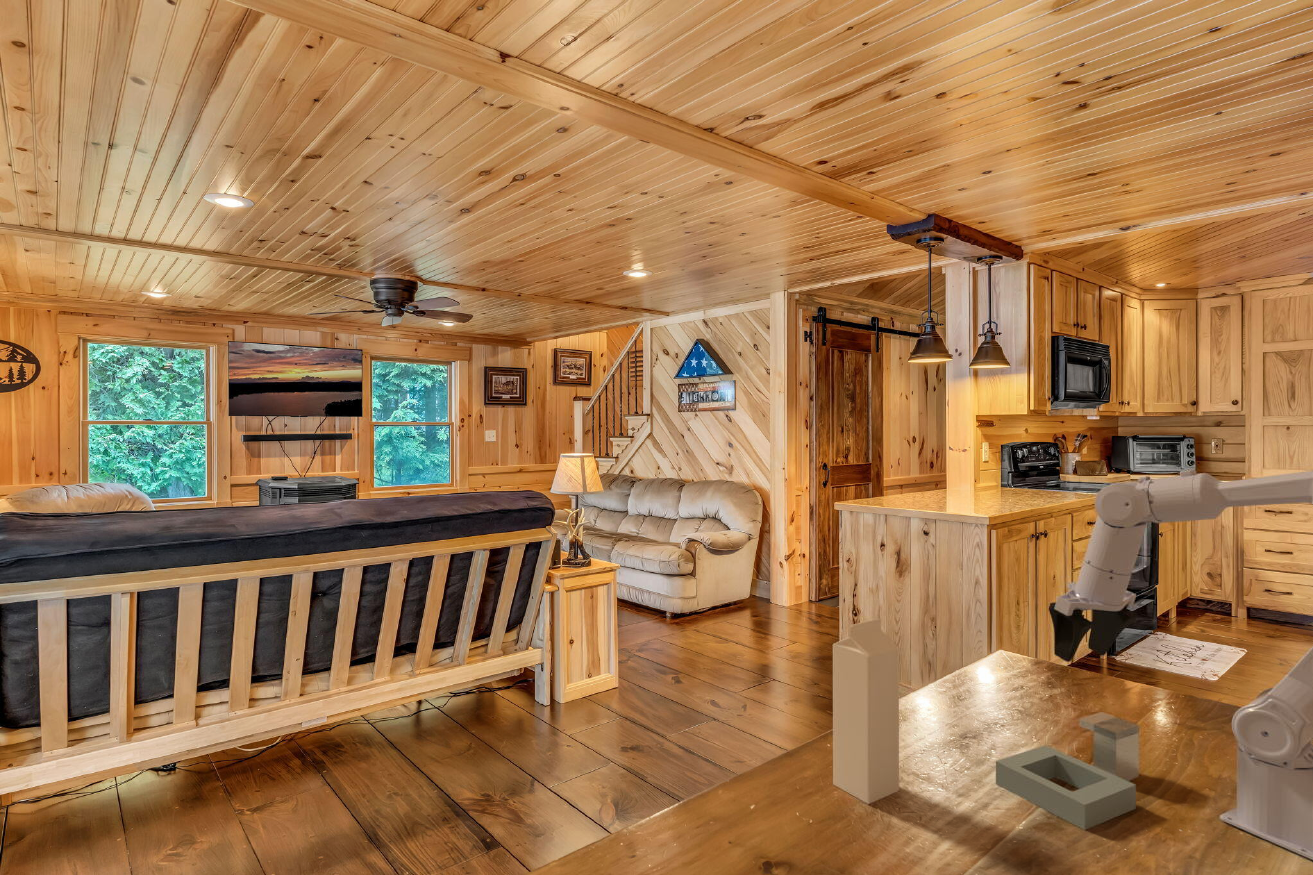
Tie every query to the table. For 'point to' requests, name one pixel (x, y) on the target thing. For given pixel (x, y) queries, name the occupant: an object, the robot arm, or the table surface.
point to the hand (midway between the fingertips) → (1079, 654)
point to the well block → (1082, 807)
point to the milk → (866, 713)
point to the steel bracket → (1114, 744)
